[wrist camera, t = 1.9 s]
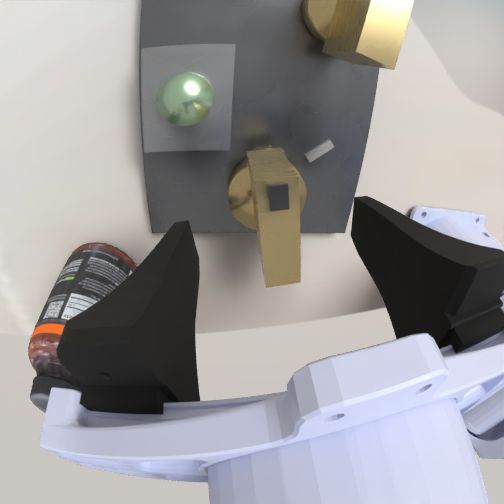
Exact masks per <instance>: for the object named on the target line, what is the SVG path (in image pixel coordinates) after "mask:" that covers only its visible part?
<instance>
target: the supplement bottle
mask: <svg viewBox="0 0 504 504" xmlns="http://www.w3.org/2000/svg"><path fill="white" fill-rule="evenodd" d="M136 269H137V267H136V265H135V263H134V262H133V261H132V259H131V258H130V257H129V256H128V255H127V254H125V253H124V252H122V251H121V250H119V249H118V248H115V247H113V246H111V245H108V244H105V243H87V244H84V245H82V246H80V247H78V248H77V249H76V250H75V251H74V252H73V253H72V255H71V256H70V257H69V259H68V260H67V262H66V264H65V266H64V268H63V270H62V272H61V274H60V275H59V277H58V280H57V281H56V283H55V285H54V287H53V289H52V291H51V293H50V296H49V298H48V300H47V302H46V304H45V306H44V308H43V311H42V313H41V315H40V317H39V320H38V322H37V324H36V326H35V329H34V332H33V334H32V337H31V339H30V343H29V348H28V355H29V359H30V362H31V364H32V366H33V368H34V369H35V370H36V372H37V376H36V377H35V378H34V380H33V386H32V390H31V394H30V399H31V401H32V402H33V404H34V405H35V406H37V407H38V408H39V409H40V410H42V411H43V412H45V413H46V409H47V404H48V400H49V396H50V392H51V388H53V387H56V388H66V389H73V390H77V391H79V392H81V393H82V388H83V384H82V383H81V382H80V381H78V380H77V379H76V378H75V377H74V376H73V375H72V374H71V373H70V372H69V371H68V370H67V369H66V368H65V367H64V366H63V365H62V364H61V362H60V361H59V359H58V357H57V353H56V349H57V346H58V343H59V340H60V337H61V335H62V332H63V329H64V326H65V324H66V321H67V320H69V319H71V318H72V317H74V316H76V315H78V314H79V313H81V312H83V311H84V310H86V309H88V308H89V307H91V306H92V305H94V304H95V303H96V302H98V301H99V300H101V299H102V298H103V297H105V296H106V295H107V294H109V293H110V292H111V291H112V290H113V289H115V288H116V287H117V286H118V285H119V284H121V283H122V282H123V281H124V280H125V279H126V278H127V277H128V276H129V275H130V274H131V273H133V272H134V271H135V270H136Z"/></svg>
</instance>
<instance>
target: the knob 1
mask: <svg viewBox="0 0 504 504" xmlns="http://www.w3.org/2000/svg"><path fill="white" fill-rule="evenodd" d="M306 198H307V191H306V185H305V183H304V180H303V178H302V177H301V175H300V174H299V172H298V170H297V169H296V167H295V166H294V165H293V164H292V163H291V162H290V161H289V160H288V159H287V157H286V156H285V154H284V152H283V151H282V149H281V148H273V149H264V150H256V151H248V152H247V159H245V160H243V161H242V162H241V163H240V164H238V166H237V167H236V168H235V169H234V171H233V172H232V174H231V176H230V179H229V183H228V200H229V206H230V209H231V212H232V214H233V215H234V217H235V218H236V219H237V220H238V221H239V222H240V223H241V224H243V225H244V226H246V227H248V228H251V229H254V230H256V233H257V241H258V246H259V252H260V257H261V262H262V268H263V273H264V279H265V284H266V288H267V287H273V286H280V285H286V284H293V283H299V282H300V213H301V212H302V210H303V208H304V205H305V203H306Z"/></svg>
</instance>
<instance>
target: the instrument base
mask: <svg viewBox="0 0 504 504" xmlns="http://www.w3.org/2000/svg"><path fill="white" fill-rule="evenodd" d="M303 1H304V0H142V13H141V30H140V113H141V132H142V147H143V159H144V170H145V180H146V189H147V198H148V206H149V213H150V220H151V227H152V233H167V231H168V230H169V229H170V228H171V226H172V225H173V224H174V223H175V222H180V221H186V220H189V224H190V227H191V231H192V232H256V230H254V229H251V228H248V227H246V226H244V225H243V224H241V223H240V222H239V221H238V220H237V219H236V218H235V217H234V215H233V214H232V212H231V209H230V206H229V200H228V183H229V179H230V176H231V174H232V172H233V171H234V169H235V168H236V167H237V166H238V164H240V163H241V162H242V161H243V160H245V159H247V152H248V151H256V150H264V149H273V148H281V149H282V151H283V152H284V154H285V156H286V157H287V159H288V160H289V161H290V162H291V163H292V164H293V165H294V166H295V167H296V169H297V170H298V172H299V174H300V175H301V177H302V178H303V180H304V183H305V185H306V191H307V198H306V203H305V205H304V208H303V210H302V212H301V213H300V232H304V233H345V230H346V226H347V223H348V219H349V215H350V211H351V208H352V204H353V200H354V196H355V192H356V188H357V184H358V179H359V175H360V171H361V166H362V162H363V157H364V153H365V148H366V143H367V138H368V133H369V128H370V123H371V117H372V112H373V106H374V100H375V94H376V88H377V81H378V74H379V67H372V66H364V65H355V64H351V63H349V62H347V61H344V60H342V59H339V58H336V57H334V56H331V55H328V54H326V53H323V52H322V50H323V47H324V43H322V42H321V41H320V40H318V39H317V38H316V37H315V36H314V35H313V34H312V33H311V31H310V30H309V29H308V27H307V25H306V23H305V21H304V17H303V11H302V8H303Z"/></svg>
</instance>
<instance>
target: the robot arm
mask: <svg viewBox="0 0 504 504" xmlns="http://www.w3.org/2000/svg"><path fill="white" fill-rule="evenodd" d="M423 212H424V213H423ZM422 213H423V214H422ZM421 214H422V215H421ZM485 222H486V216H485V215H484V214H478V213H471V212H464V211H456V210H448V209H440V208H431V207H422V206H416V207H415V208H414V209H413V210H412V212H411V215H410V218H409V217H407V216H405V215H403V214H401V213H399V212H397V211H396V210H394V209H392V208H390V207H388V206H386V205H385V204H383V203H381V202H379V201H377V200H375V199H373V198H370V197H368V196H363V197H354V208H353V219H352V229H351V237H352V240H353V242H354V245H355V247H356V250H357V252H358V254H359V256H360V258H361V259H362V261H363V263H364V265H365V266H366V268H367V270H368V272H369V273H370V275H371V277H372V279H373V280H374V282H375V284H376V286H377V288H378V289H379V291H380V294H381V296H382V298H383V300H384V303H385V305H386V308H387V311H388V313H389V316H390V319H391V322H392V325H393V328H394V331H395V335H396V340H392V341H389V342H386V343H382V344H378V345H375V346H371V347H367V348H363V349H359V350H355V351H351V352H347V353H343V354H338V355H334V356H329V357H326V358H323V359H321V360H317V361H315V362H311V363H309V364H307V365H306V366H304V367H303V368H301V369H300V370H298V371H296V372H295V373H294V374H293V376H292V377H291V379H290V381H289V383H288V384H287V391H286V392H280V393H273V394H267V395H260V396H252V397H245V398H235V399H225V400H213V401H200V396H199V388H198V376H197V364H196V349H195V348H196V347H195V318H196V307H197V297H198V288H199V256H198V253H197V249H196V246H195V242H194V238H193V235H192V231H191V227H190V224H189V220H186V221H180V222H175V223H174V224H173V225H172V226H171V228H170V229H169V230H168V231H167V233H166V234H165V235H164V237H163V238H162V239H161V240H160V242H159V243H158V244H157V245H156V247H155V248H154V249H153V250H152V252H151V253H150V254H149V255H148V256H147V257H146V259H145V260H144V261H143V262H142V263H141V264H140V265H139V266H138V267H137V269H136V270H135V271H134V272H133V273H131V274H130V275H129V276H128V277H127V278H126V279H125V280H124V281H123V282H122V283H121V284H119V285H118V286H117V287H116V288H115V289H113V290H112V291H111V292H110V293H109V294H107V295H106V296H105V297H103V298H102V299H101V300H99V301H98V302H96V303H95V304H94V305H92V306H91V307H89V308H88V309H86V310H84V311H83V312H81V313H79V314H78V315H76V316H74V317H72V318H71V319H69V320H67V321H66V324H65V326H64V329H63V332H62V335H61V337H60V340H59V343H58V346H57V349H56V353H57V357H58V359H59V361H60V362H61V364H62V365H63V366H64V367H65V368H66V369H67V370H68V371H69V372H70V373H71V374H72V375H73V376H74V377H75V378H76V379H77V380H78V381H80V382H81V383H82V384H83V388H82V393H81V392H79V391H77V390H73V389H66V388H56V387H53V388H51V392H50V396H49V400H48V404H47V409H46V414H45V418H44V423H43V429H42V434H41V441H40V446H41V447H42V448H44V449H46V450H48V451H50V452H52V453H54V454H56V455H58V456H60V457H63V458H65V459H67V460H69V461H71V462H74V463H76V464H78V465H81V466H85V467H90V468H94V469H99V470H104V471H109V472H114V473H120V474H126V475H132V476H139V477H145V478H153V479H162V480H172V481H187V482H208V485H209V498H210V504H489V502H488V497H487V493H486V489H485V485H484V481H483V478H482V474H481V471H480V467H479V464H478V461H477V458H476V454H475V451H476V452H477V454H478V455H479V457H480V458H486V459H504V248H503V246H502V245H501V244H500V243H499V242H498V241H497V240H496V239H495V238H494V237H493V236H492V235H491V234H490V233H489V232H488V231H487V230H486V229H485V228H484V224H485ZM474 450H475V451H474Z"/></svg>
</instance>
